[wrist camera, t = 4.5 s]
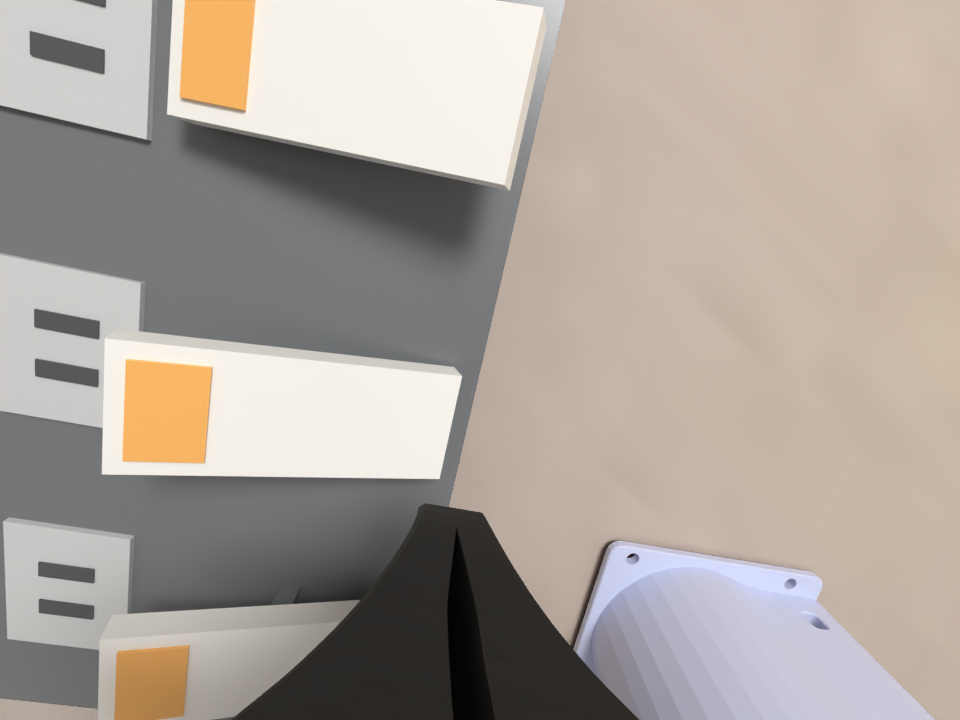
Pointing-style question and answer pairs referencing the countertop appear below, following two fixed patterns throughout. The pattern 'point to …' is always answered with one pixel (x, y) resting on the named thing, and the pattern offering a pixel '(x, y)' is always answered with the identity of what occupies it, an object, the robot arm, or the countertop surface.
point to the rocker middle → (270, 411)
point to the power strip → (199, 332)
